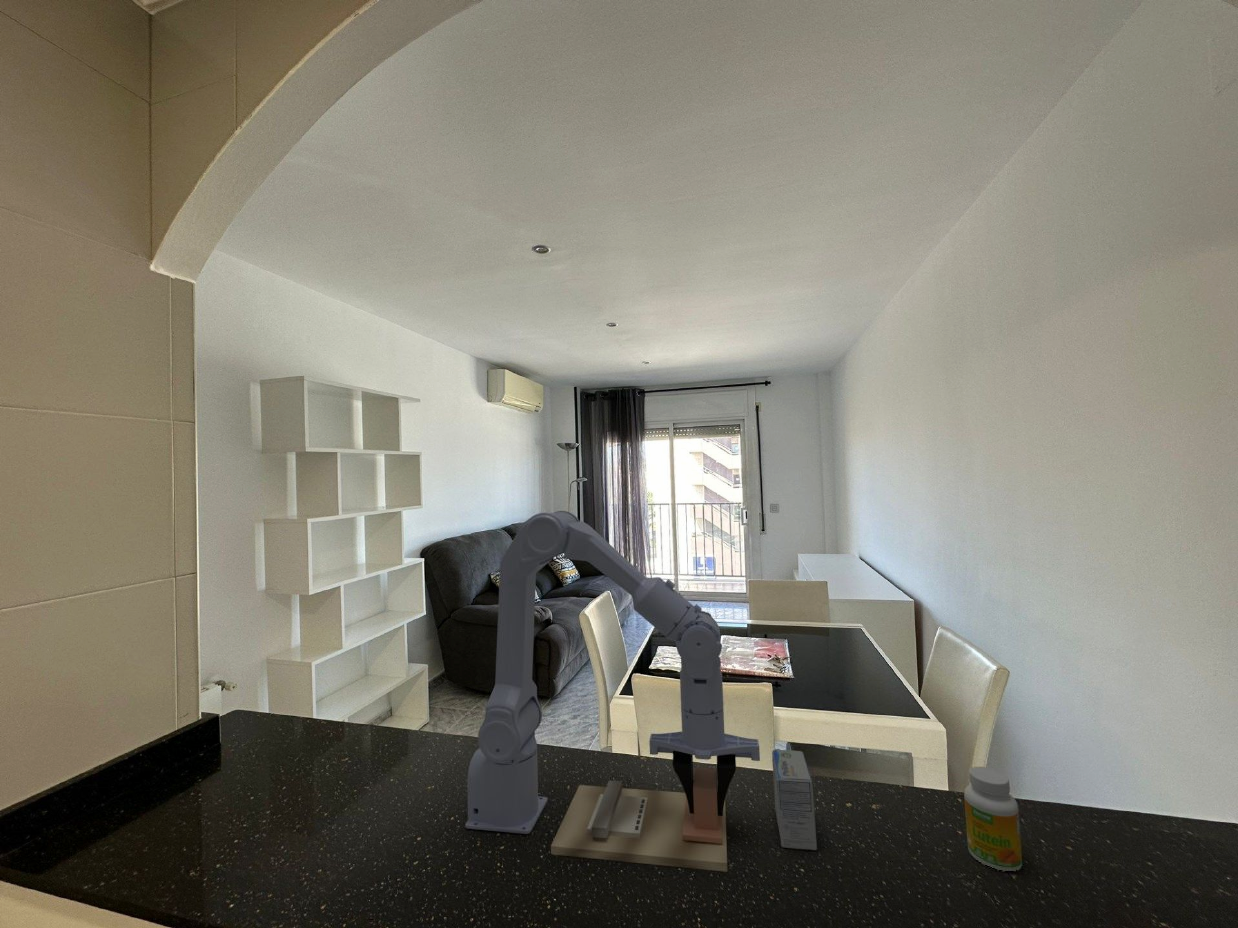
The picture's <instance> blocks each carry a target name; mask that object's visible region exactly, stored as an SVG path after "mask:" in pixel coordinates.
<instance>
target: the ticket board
mask: <svg viewBox="0 0 1238 928" xmlns="http://www.w3.org/2000/svg"><path fill="white" fill-rule="evenodd" d="M685 802H686V794H685V792H678V791H677V792H676V791H664V790H652V789H651V790H650V789H637V788H624V787H623V781H622V780H621V781H620V780H608V782H607V784H606V786H596V785H587V784H586V785H585V784H584V785H583V784H579V785H578V787H577V789H576V791H575V794H574V796H573V798H572V800H571V802H570V804H569V807H568V809H567V810H566V812H565V813H566V814H564V817H563V819H562V821H561V823H560V826H559V828H558V830H557V832H556V835H555V836H554V837H553V841H552V843H551V845H550V854H551V855H555V856H564V857H565V856H567V857H576V858H584V859H598V860H604V861H605V860H606V861H615V862H626V863H636V864H647V865H656V866H665V867H675V868H677V867H678V868H686V869H695V870H705V871H715V872H716V871H717V872H724V873H725V872H726V873H728V853H727V852H728V851H727V845H728V844H727V821H726V820H727V816H726V812H727V811H726V800H725V801H724V807H723V816H722V842H723V843H712V842H701V841H690V840H683V839H682V833H683V823H684V813H685Z"/></svg>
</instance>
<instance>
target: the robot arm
mask: <svg viewBox="0 0 1238 928" xmlns="http://www.w3.org/2000/svg"><path fill="white" fill-rule="evenodd" d="M563 554H564V555H563ZM560 555H563V556H562V557H563V559H565V560H571V561H573V560H575V561H584V562H585V561H586V562H587V563H590V564H591V565H592V566H593V567H594V568H596V569H597V570H598V571H599V572H601V573H602V574H603V575H604V576H606V577H607V578H608V579H610V580H611V581H612V582H614V583H615V584H616V585H617V586H619V587H620V588H621V589H623V590H624V591H625V592H626V593H627V594H629V595H630V596H631V599H632V605H633V610H634V611H635V612H637V613H638V615H640V616H641V617H642V618H643V619H644V620H646V622H648V623H649V624H650V625H652V627H654V628H655V629H656V630H657V631H658V632H660V634H661V635H663V636H664V637H665V638H666V639H667V640H668V641H672V642H674V643H675V647H676V652H677V654H678V656H679V657H680V664H681V665H680V668H681V669H680V670H679V685H680V686H679V689H680V690H679V691H680V714H681V716H680V717H681V731H674V732H667V733H666V732H665V733H664V732H662V733H651V734H650V736H649V743H648V744H649V755H655V756H657V755H659V753H660V754H662V753H663V754H672V768H673V770H674V772H675V775H676V777H678V780H679V781H680V784H681V786H682V788H683V791H684V793H685V794H686V798H687V801H688V805H689V811H690V814H694V798H693V782H694V761H693V760H694V758H695V759H696V760H706V761H708V760H711V759H712V757H716V771H717V809H718V816H723V807H724V801H725V802H726V797H727V794H728V793H727V792H728V789H729V787H730V784H731V782H732V780H733V778H734V776H735V772H736V770H737V761H736V759H737V758H742V759H743V758H744V759H745V758H746V759H751V761H753V762H760V761H761V757H760V755H761V754H760V743H759V739H758V738H748V737H742V736H738V735H733V734H729V733H726V732H725V714H724V712H725V711H724V689H723V685H724V684H723V672H722V669H721V667H722V662H721V661H722V660H721V657H720V656H721V653H722V648H723V646H722V645H723V644H722V643H721V641H722V640H721V630H720V627H719V624H718V622H717V621H716V619H714V617H713V616H712V614H711V613H710V612H707V611H706V610H702V609H703V608H702V606H699V604H695V605H693V604H692V603H691V602H689V600H687V599H686V598H685V597H684V596H682V595H681V593H679V592H678V591H677V590H675V589H674V588H675V586H676V585H675V583H674V582H673V581H672V580H670V579H669V578H668V579H666V581H665V580H663V579H662V577H659V576H656V577H654V576H653V577H647V576H645V575H644V574H643V572H641V571H640V570H638V569H637V568H636V567H635V566H634V565H633V563H631V562H630V561H629V560H628V559H627V558H625V556H623V555H622V554H621V553H620V552H619V551H618V550H617V549H616V548H614V546H612V544H610V543H609V542H608V541H607V540H606V539H605V538H604V537H602V535H600V533H598V532H597V531H596V530H595V529H594V528H593V527H591V526H590V524H588V523H586V522H585V521H583V520H581V521H580V520H579V518H578V517H577V516H576V515H575V514H573V512H570V511H566V510H558V511H554V512H539V513H536V514H534V515H532V516H530V518H528V519H527V520H525V521H524V522H523V523H521V524H520V525H519V526H518V527H517V529H516V535H515V536H514V538H513V540H512V541H511V543H510V544H509V546H508V547H507V549H506V551H505V553H504V554H503V556H502V557H501V560H500V565H499V583H498V585H499V586H498V605H497V607H498V611H497V631H496V632H497V634H496V653H495V654H496V657H495V680H494V681H495V684H494V687H493V690H492V692H491V694H490V696H489V699H488V700H487V703H486V705H485V717H484V719H483V722H482V724H481V726H480V727H479V730H478V734H477V740H478V741H477V742H478V743H477V744H478V747H479V748H477V749H476V750H475V752H474V754H473V755H472V757H471V759H470V763H469V767H468V770H467V771H468V772H467V820H466V823H465V829H470V830H479V831H481V830H482V831H492V832H502V833H511V834H512V833H513V834H522V835H523V834H525V835H529V834H530V833H531V832H532V830H533V828H534V827H535V825H536V823H537V821H538V820H539V818H540V816H541V814H542V813H543V810H544V808H545V807H546V805H547V803H548V799H549V798H548V797H546V796H539V780H538V778H539V775H538V773H539V772H538V742H537V739H536V730H538V728H539V726H540V725H541V722H542V717H543V711H542V707H541V705H540V702H539V699H538V686H537V684H536V683H535V681H534V680H533V666H534V665H533V663H534V662H533V660H534V639H535V638H534V637H535V636H534V631H535V609H536V605H535V604H536V579H537V573H538V572H539V571H540V570H541V569H543V568H544V567H545V566H546V565H547V564H548V563H550V561H552V560H553V559H555V558H556V557H559V556H560Z"/></svg>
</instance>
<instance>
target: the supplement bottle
mask: <svg viewBox="0 0 1238 928" xmlns="http://www.w3.org/2000/svg"><path fill="white" fill-rule="evenodd" d="M968 771H969V772H968V777H969V783H970V784H968V785H967V786H966V787H965V789H964V793H963V794H964V796H963V797H964V800H963V801H964V811H965V812H964V813H965V825H966V826H965V827H966V839H967V842H966V843H967V848H968V852H969V853H970V855H971V856H972V857H973V858H974V859H975V860H976V861H977V860H978V861H977V862H979V863H980V862H981V863H980V864H982V865H983V866H985V865H987V866H990V867H992V868H995V869H997V870H996V871H999V870H1002V871H1001V872H1005V871H1014V872H1017V871H1020V870H1021V868H1022V866H1023V857H1022V856H1023V854H1022V853H1023V852H1022V841H1021V840H1022V839H1021V829H1020V815H1019V813H1020V811H1019V805H1018V802H1017V801H1016V799H1015V797H1013V796H1012V795H1011V794H1010V793H1011V786H1010V780H1009V777H1008V776H1007V775H1006V774H1004V773H1003V772H1001V771H998V770H996V769H995V768H994V769H993V768H990V767H986V766H973V767H971V768H969V770H968ZM987 866H986V867H987ZM990 867H989V868H990ZM992 868H991V869H992ZM995 869H994V870H995ZM1016 870H1017V871H1016Z"/></svg>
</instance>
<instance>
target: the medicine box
mask: <svg viewBox="0 0 1238 928" xmlns="http://www.w3.org/2000/svg"><path fill="white" fill-rule="evenodd" d="M771 753H772V754H771V755H772V756H771V757H772V758H771V759H772V760H771V761H772V762H771V763H772V775H773V777H772V779H773V791H774V792H773V794H774V797H773V798H774V809H775V815H776V821H777V825H778V831H779V833H778V834H779V838H780V845H781V847H782V848H784V849H785V848H787V849H795V850H808V851H809V850H810V851H817V850H818V846H817V844H818V843H817V832H816V831H817V830H816V816H815V815H816V814H815V802H814V799H815V798H814V789H813V780H812V776H811V773H810V769H809V767H808V766H809V765H808V763H807V760H806V756H805V754H804V752H803V751H800V750H792V749H791V750H789V749H773V750H772V751H771Z"/></svg>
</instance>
